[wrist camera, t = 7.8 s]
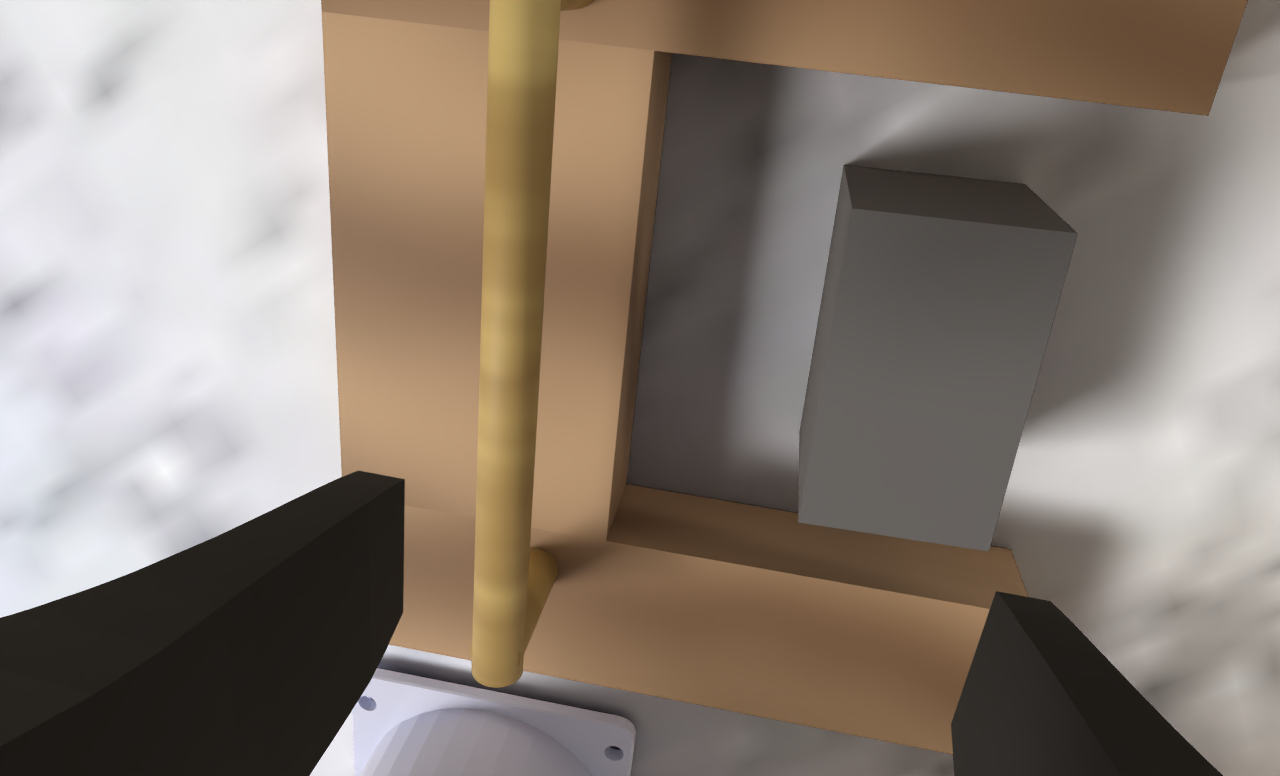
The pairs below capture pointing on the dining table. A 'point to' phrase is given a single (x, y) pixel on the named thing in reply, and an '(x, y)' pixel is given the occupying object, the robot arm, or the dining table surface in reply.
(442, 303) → the tan wooden frame
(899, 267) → the grey rectangular block
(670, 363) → the dining table surface
